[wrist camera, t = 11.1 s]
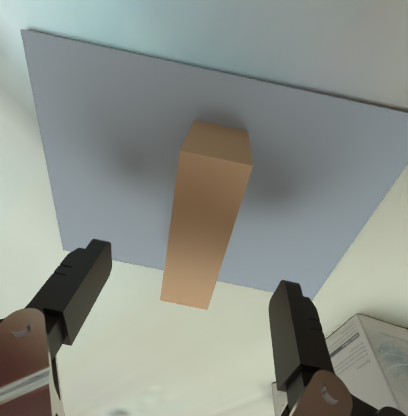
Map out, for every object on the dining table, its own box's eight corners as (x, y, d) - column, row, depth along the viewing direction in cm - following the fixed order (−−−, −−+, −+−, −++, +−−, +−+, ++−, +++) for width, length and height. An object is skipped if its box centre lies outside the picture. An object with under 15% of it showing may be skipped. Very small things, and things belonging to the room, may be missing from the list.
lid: (423, 113, 14) (522, 154, 9) (308, 288, 22) (328, 356, 17) (36, 30, 13) (-72, 26, 9) (71, 240, 22) (25, 296, 17)
